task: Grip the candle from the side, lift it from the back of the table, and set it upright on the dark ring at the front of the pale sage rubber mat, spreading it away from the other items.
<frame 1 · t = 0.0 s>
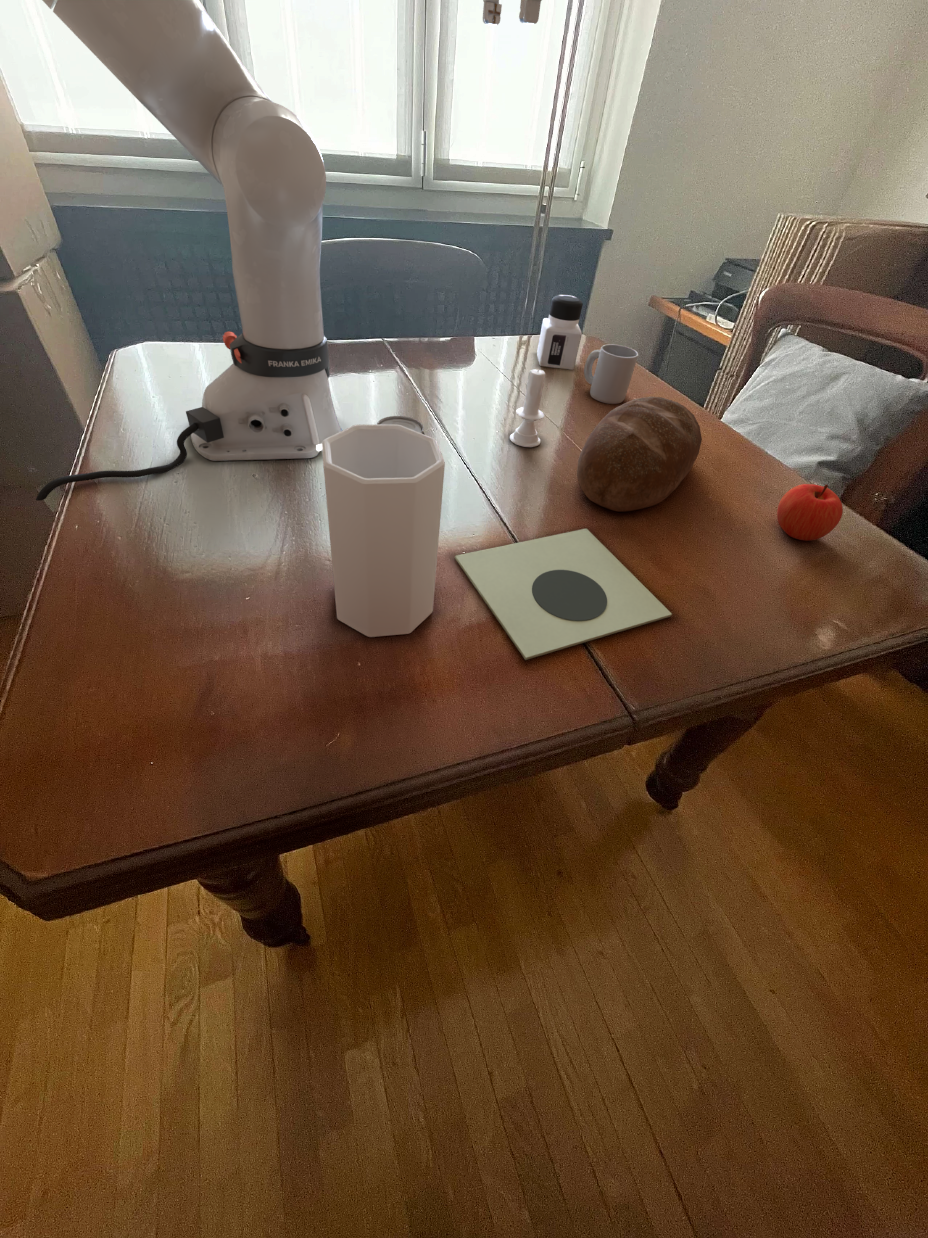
hand: (508, 23, 65), 48 cm above the table, tool pointing down, fingers open, 8 cm apart
beverage can: (398, 511, 75), on the table
cup 2: (383, 604, 61), on the table
cup: (600, 395, 112), on the table
apple: (794, 533, 81), on the table
container: (554, 362, 123), on the table
candle: (524, 441, 93), on the table
bread: (633, 475, 89), on the table
mat: (559, 586, 66), on the table
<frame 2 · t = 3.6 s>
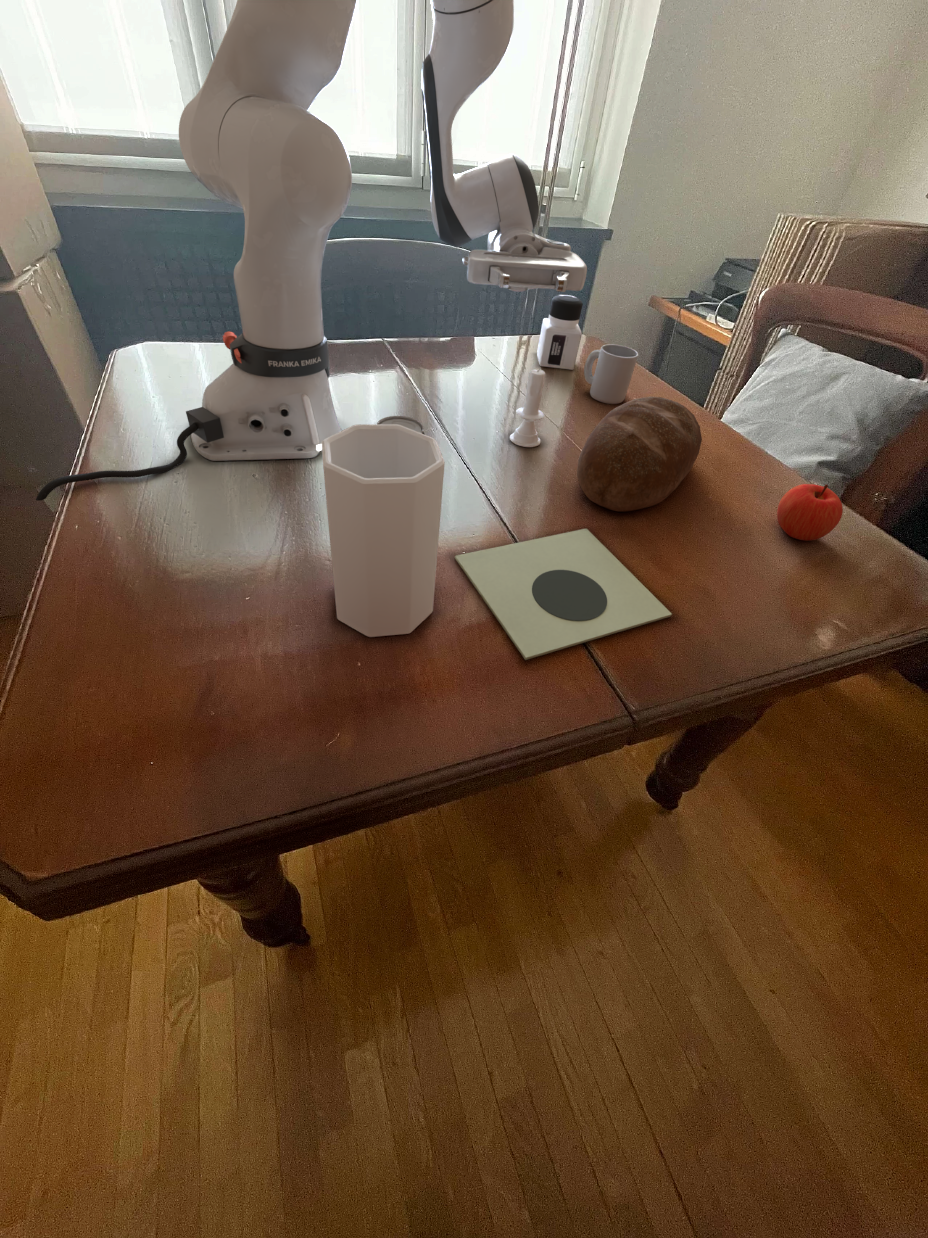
hand: (533, 284, 87), 21 cm above the table, tool horizontal, fingers open, 8 cm apart
nothing on the table moved.
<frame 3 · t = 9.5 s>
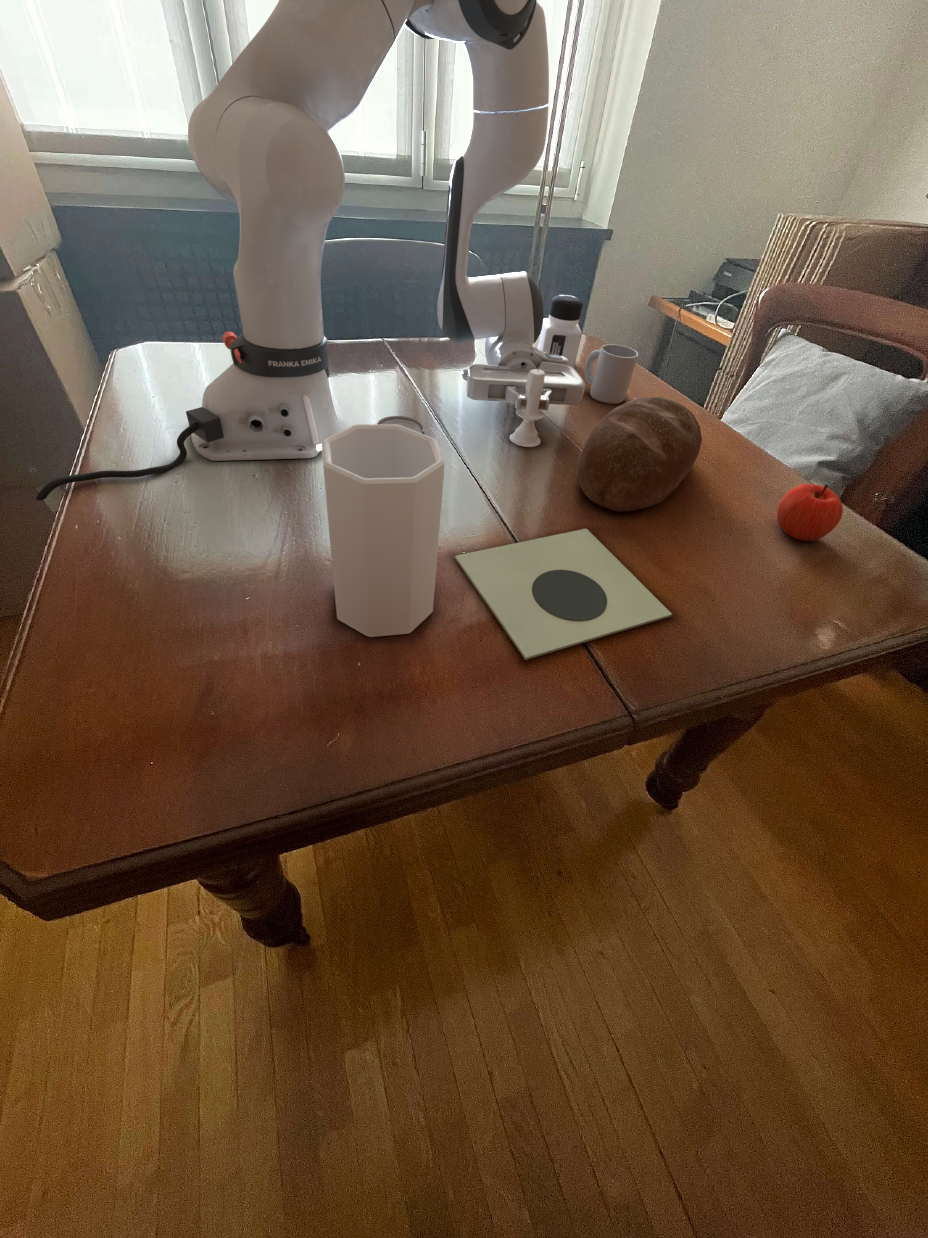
hand: (533, 404, 88), 7 cm above the table, tool horizontal, fingers closed on candle, 2 cm apart
candle: (524, 441, 93), on the table, touching gripper
everything else where it was.
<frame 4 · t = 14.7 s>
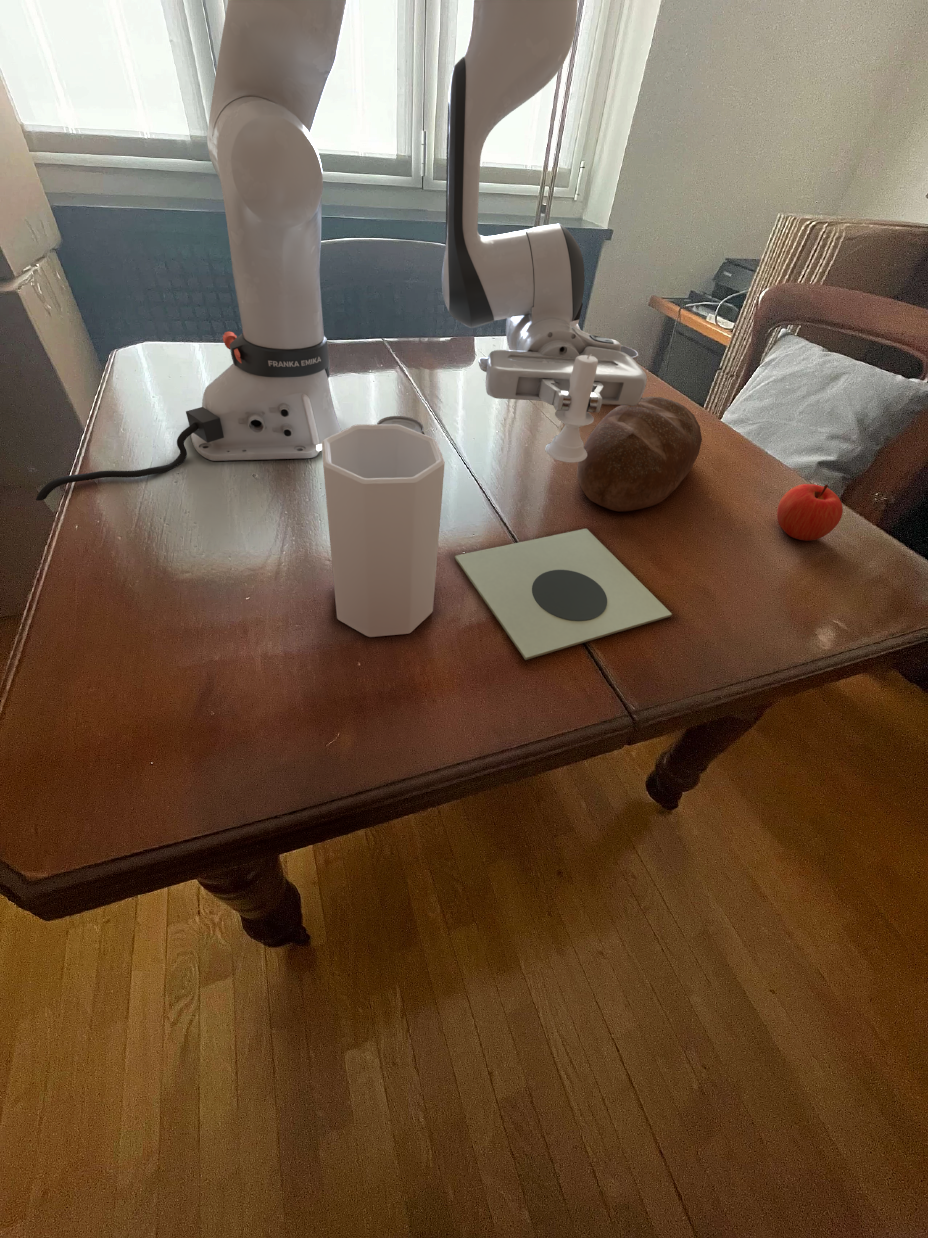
hand: (580, 405, 64), 17 cm above the table, tool horizontal, fingers closed on candle, 2 cm apart
candle: (565, 454, 69), point 10 cm above the table, touching gripper
everything else where it was.
when the fingers open (7 cm above the table, at t = 19.7 s): candle stays where it is, resting on mat.
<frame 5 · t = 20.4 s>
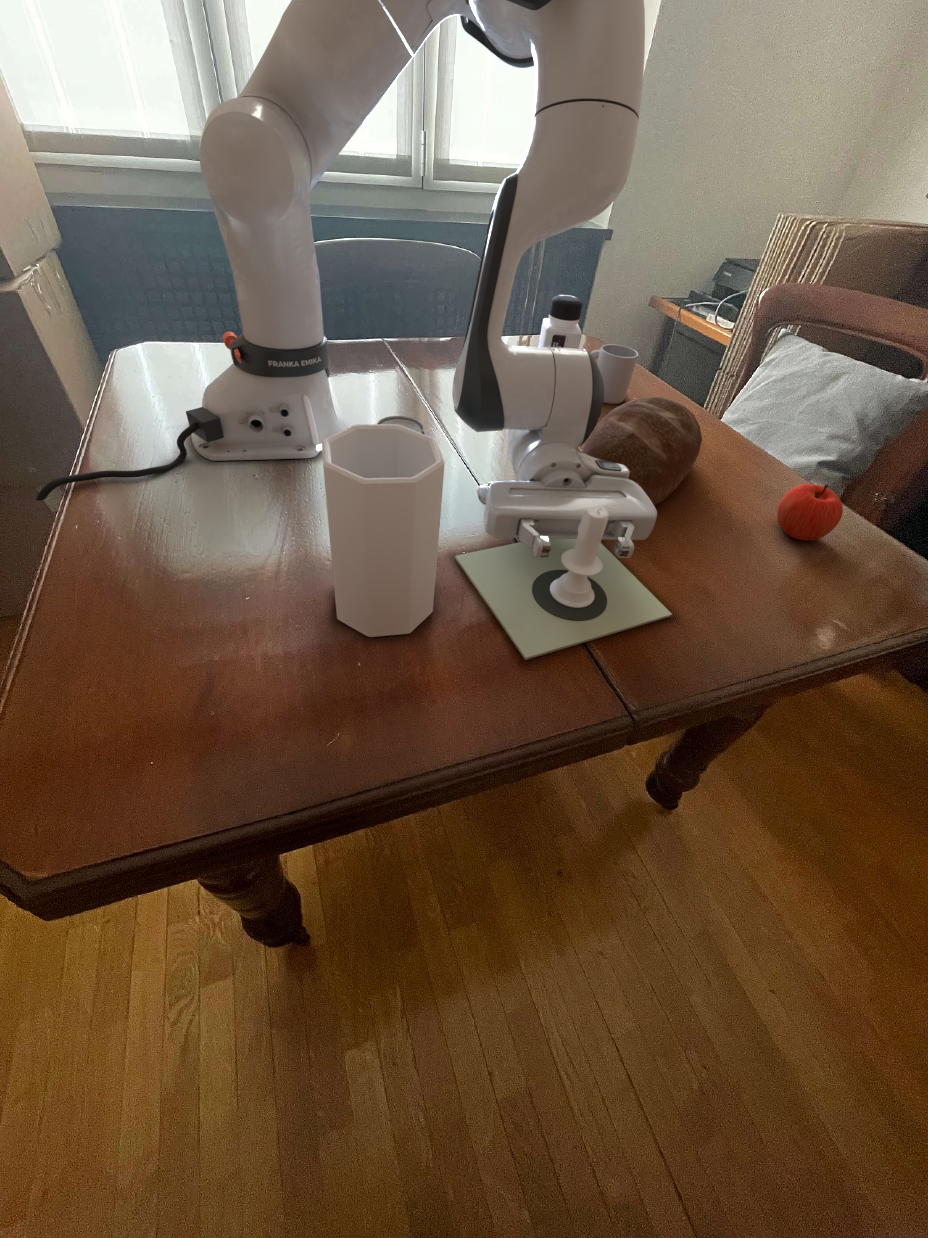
hand: (585, 552, 59), 7 cm above the table, tool horizontal, fingers open, 8 cm apart
candle: (571, 594, 65), resting on mat
everything else where it was.
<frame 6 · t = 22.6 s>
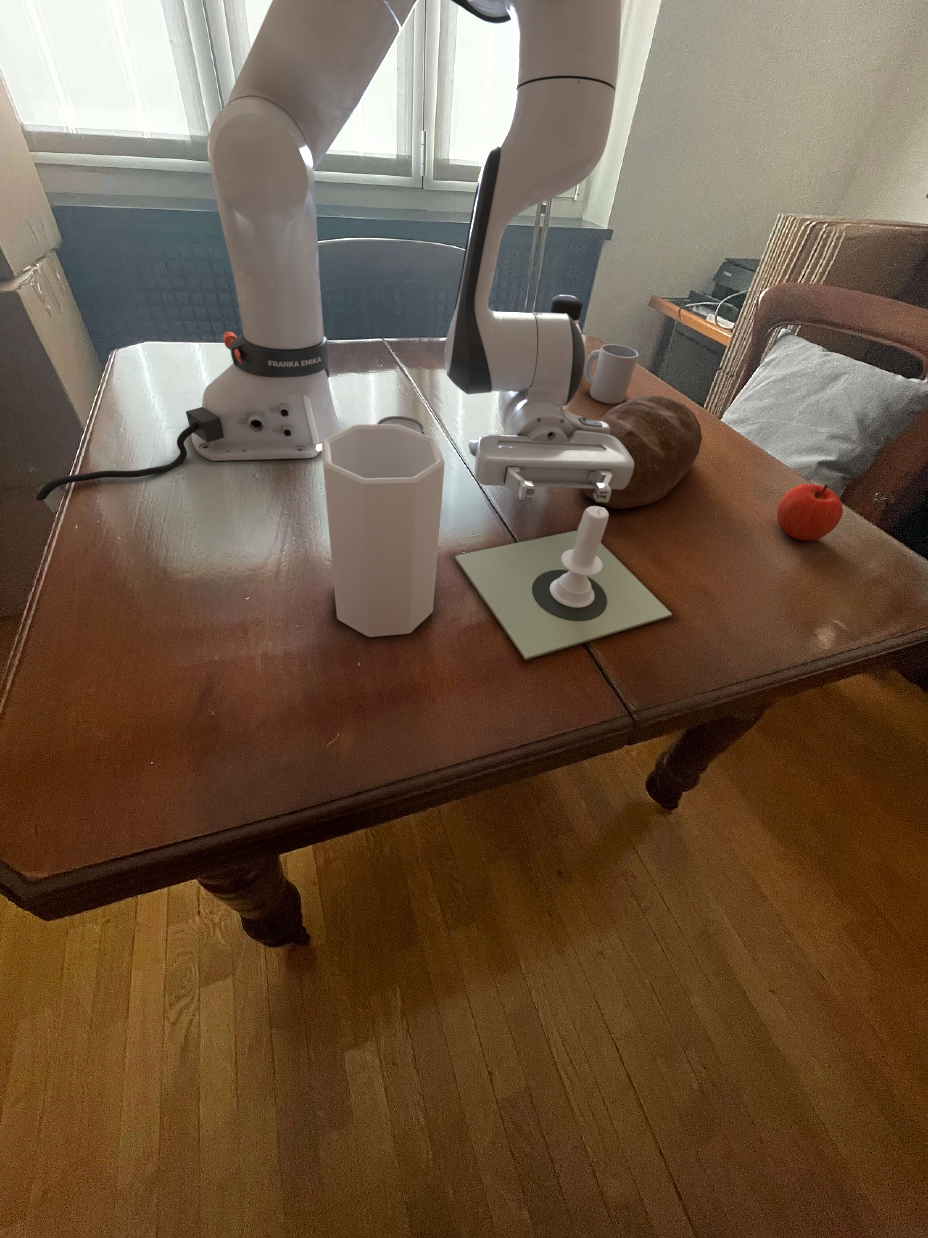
hand: (566, 496, 64), 9 cm above the table, tool horizontal, fingers open, 8 cm apart
bread: (633, 473, 89), on the table, touching arm
everything else where it was.
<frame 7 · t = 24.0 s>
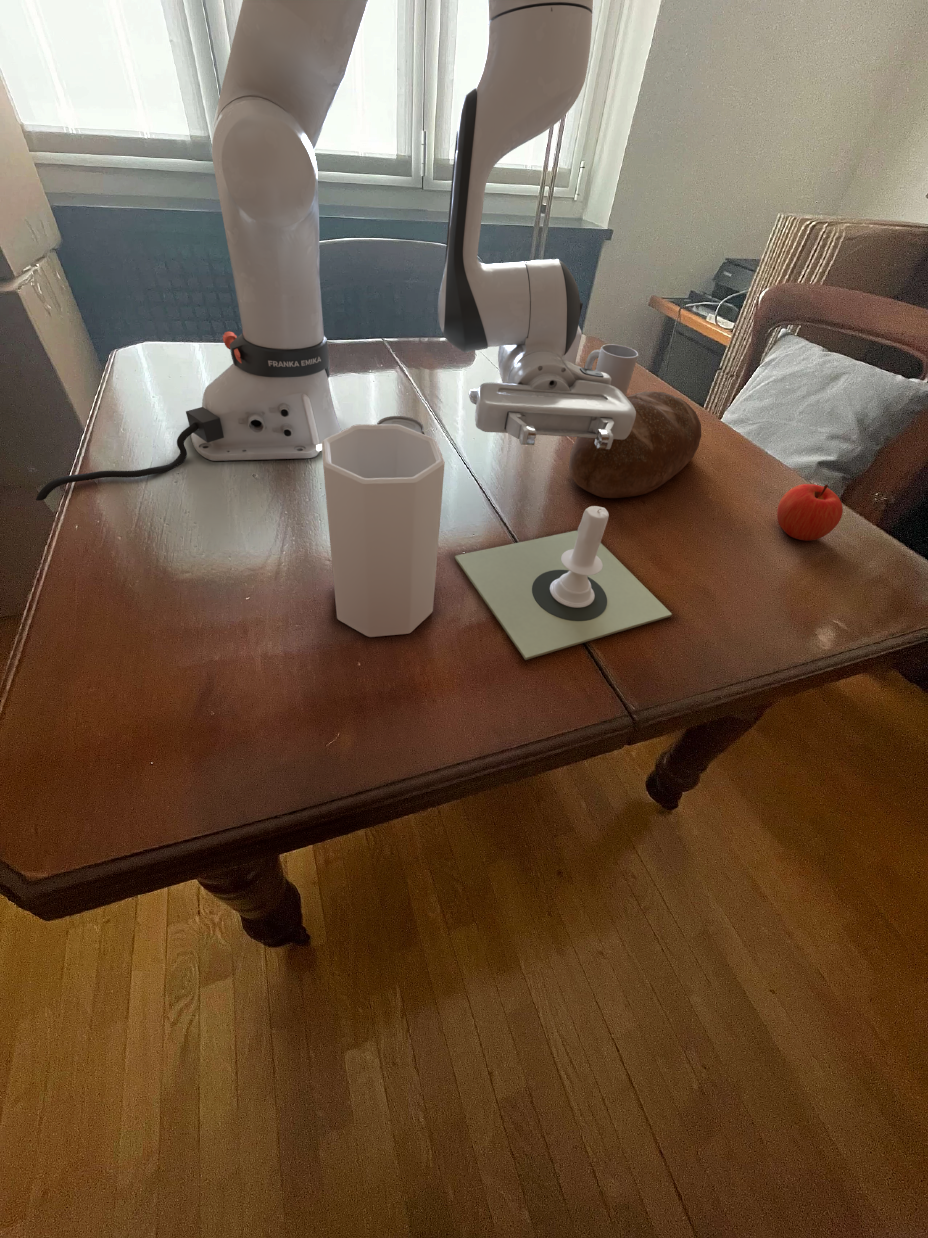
hand: (568, 441, 64), 14 cm above the table, tool horizontal, fingers open, 8 cm apart
bread: (630, 467, 90), on the table
everything else where it was.
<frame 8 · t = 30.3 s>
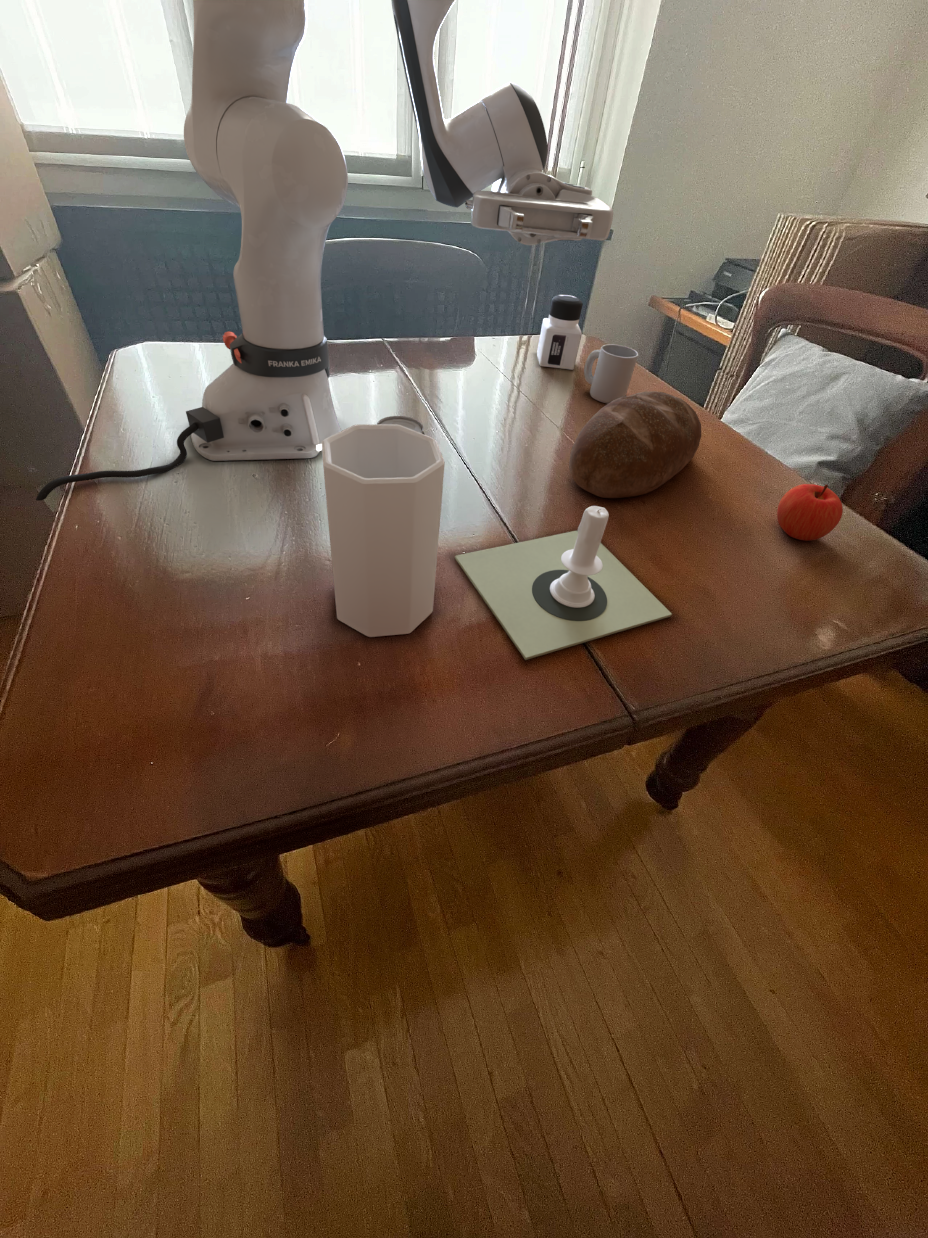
hand: (552, 226, 73), 30 cm above the table, tool horizontal, fingers open, 8 cm apart
nothing on the table moved.
at the end: candle inside the target area on the mat (0.3 cm from its centre), point 0.3 cm above the mat's base; candle tilted 0° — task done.
